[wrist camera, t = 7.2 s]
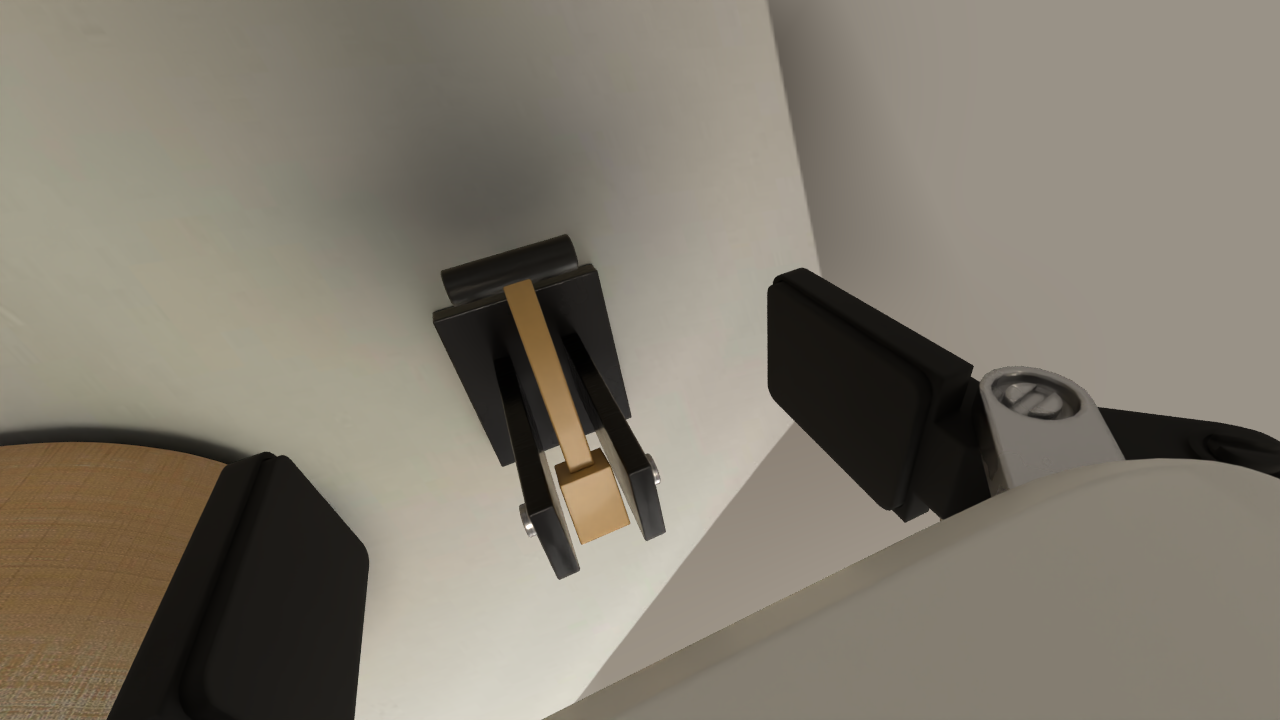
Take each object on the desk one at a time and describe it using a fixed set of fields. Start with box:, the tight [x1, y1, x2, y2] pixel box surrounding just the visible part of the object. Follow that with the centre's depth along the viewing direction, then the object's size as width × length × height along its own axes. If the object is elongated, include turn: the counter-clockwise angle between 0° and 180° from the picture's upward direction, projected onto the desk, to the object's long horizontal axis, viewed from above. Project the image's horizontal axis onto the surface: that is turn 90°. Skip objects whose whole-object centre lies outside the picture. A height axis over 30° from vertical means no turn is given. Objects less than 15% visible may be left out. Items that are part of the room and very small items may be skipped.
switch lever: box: [441, 234, 630, 545], centre depth 20 cm, size 12×5×2 cm, turn 10°
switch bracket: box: [433, 264, 666, 580], centre depth 25 cm, size 11×9×13 cm
